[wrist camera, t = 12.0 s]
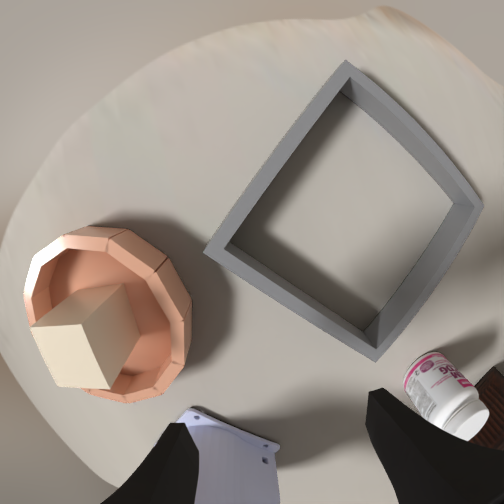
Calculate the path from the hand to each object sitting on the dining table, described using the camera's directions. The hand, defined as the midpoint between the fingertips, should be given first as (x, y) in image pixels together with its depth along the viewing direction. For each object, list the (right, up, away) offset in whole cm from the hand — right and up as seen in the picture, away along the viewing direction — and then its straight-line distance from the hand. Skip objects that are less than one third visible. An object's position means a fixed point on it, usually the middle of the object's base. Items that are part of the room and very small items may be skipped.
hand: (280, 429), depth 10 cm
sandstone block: (-11, +3, +9) cm, 14 cm away
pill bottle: (+14, -4, +12) cm, 19 cm away
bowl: (-11, +3, +9) cm, 15 cm away
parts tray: (+6, +9, +8) cm, 13 cm away
